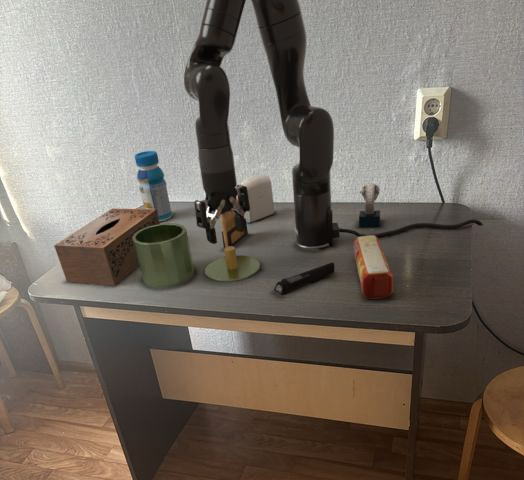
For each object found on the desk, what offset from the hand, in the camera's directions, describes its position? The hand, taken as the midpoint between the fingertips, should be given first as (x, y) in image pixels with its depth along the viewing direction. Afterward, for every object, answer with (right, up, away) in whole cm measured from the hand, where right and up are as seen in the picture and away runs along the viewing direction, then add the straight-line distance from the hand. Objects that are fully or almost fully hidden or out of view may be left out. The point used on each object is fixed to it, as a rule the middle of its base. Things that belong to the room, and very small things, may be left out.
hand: (226, 236), depth 121 cm
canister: (-15, -9, +6) cm, 18 cm away
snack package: (+33, -11, -5) cm, 35 cm away
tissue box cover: (-31, -3, +17) cm, 35 cm away
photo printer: (+7, +13, +35) cm, 38 cm away
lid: (+1, -7, +5) cm, 8 cm away
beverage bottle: (-24, +15, +43) cm, 52 cm away
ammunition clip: (+1, +3, +20) cm, 20 cm away
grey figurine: (+38, +8, +21) cm, 44 cm away
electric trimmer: (+18, -12, -4) cm, 22 cm away
